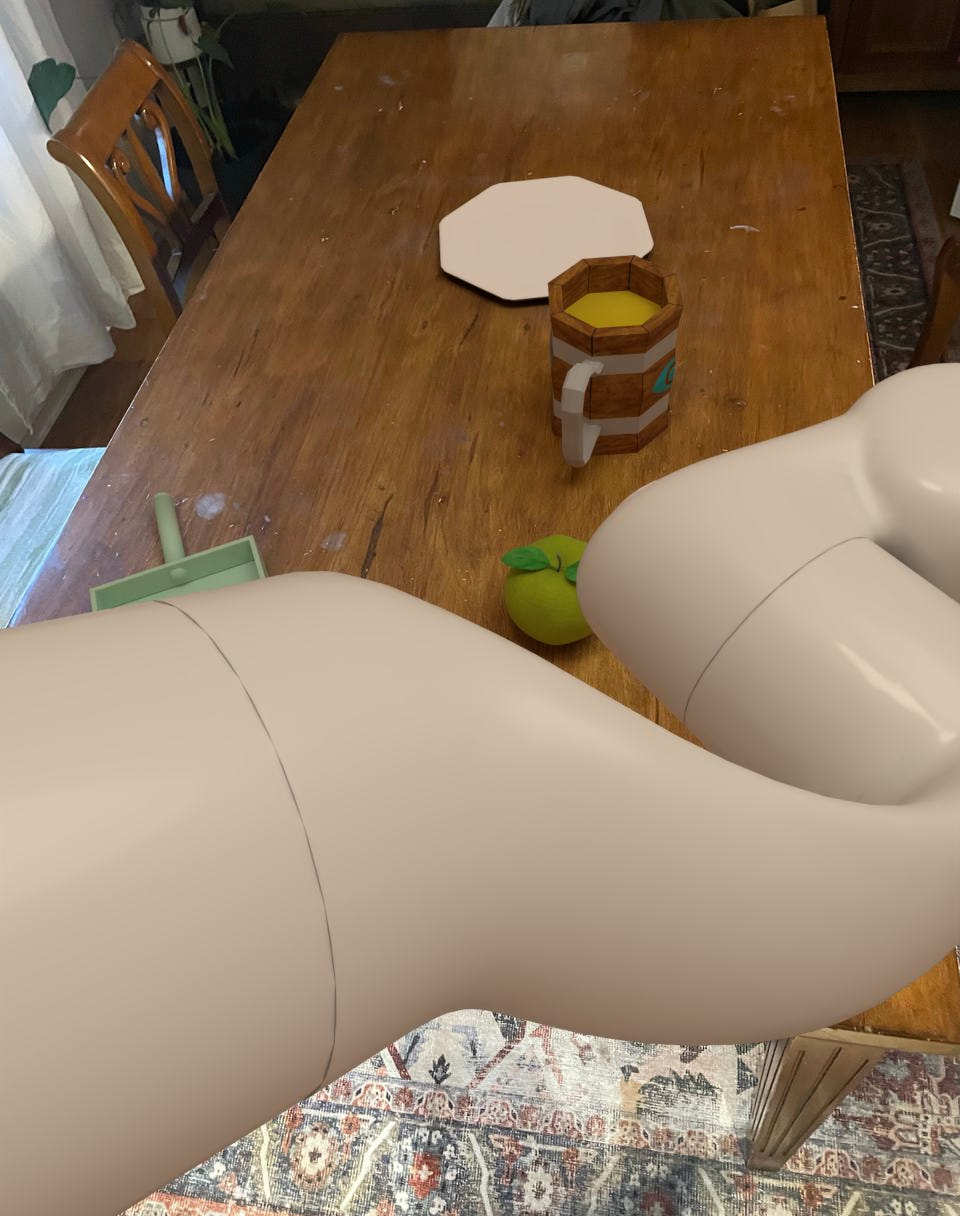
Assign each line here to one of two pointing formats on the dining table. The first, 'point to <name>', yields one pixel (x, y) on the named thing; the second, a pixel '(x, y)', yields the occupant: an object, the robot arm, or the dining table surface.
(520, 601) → the fruit
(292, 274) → the dining table surface
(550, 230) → the plate
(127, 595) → the dustpan
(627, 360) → the mug
